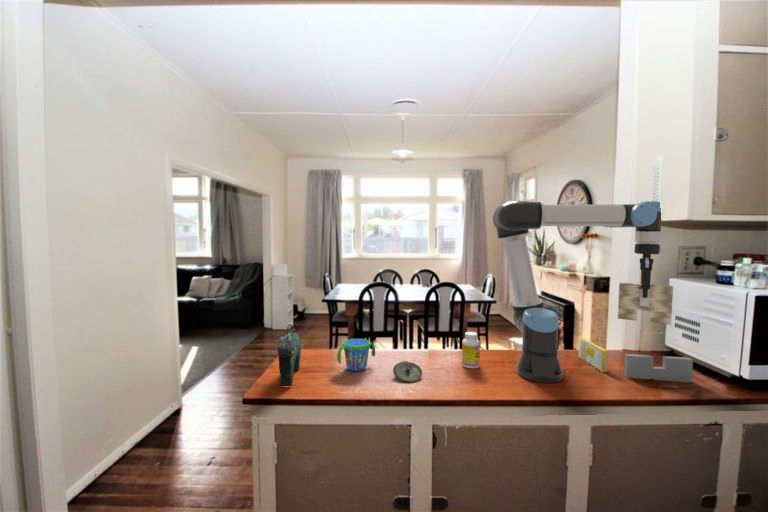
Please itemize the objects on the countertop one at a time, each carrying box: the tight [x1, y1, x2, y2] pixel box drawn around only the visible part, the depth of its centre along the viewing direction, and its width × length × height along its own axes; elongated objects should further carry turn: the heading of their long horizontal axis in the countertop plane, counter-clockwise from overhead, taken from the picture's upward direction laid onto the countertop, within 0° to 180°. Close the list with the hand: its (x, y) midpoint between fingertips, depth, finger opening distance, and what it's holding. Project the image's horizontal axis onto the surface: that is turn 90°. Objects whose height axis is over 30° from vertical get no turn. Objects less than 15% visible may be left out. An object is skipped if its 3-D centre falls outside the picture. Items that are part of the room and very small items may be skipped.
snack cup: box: [336, 338, 376, 372], centre depth 131 cm, size 16×10×10 cm
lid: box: [392, 361, 423, 383], centre depth 123 cm, size 11×10×5 cm
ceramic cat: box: [277, 323, 302, 387], centre depth 122 cm, size 20×6×20 cm, turn 3°
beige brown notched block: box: [617, 282, 674, 326], centre depth 129 cm, size 16×2×14 cm, turn 55°
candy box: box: [578, 337, 609, 373], centre depth 135 cm, size 16×2×8 cm, turn 179°
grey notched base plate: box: [623, 353, 694, 383], centre depth 121 cm, size 20×2×8 cm, turn 79°
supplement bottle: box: [461, 331, 481, 369], centre depth 133 cm, size 7×7×13 cm
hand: (644, 305), depth 129 cm, fingers closed on beige brown notched block, 2 cm apart
